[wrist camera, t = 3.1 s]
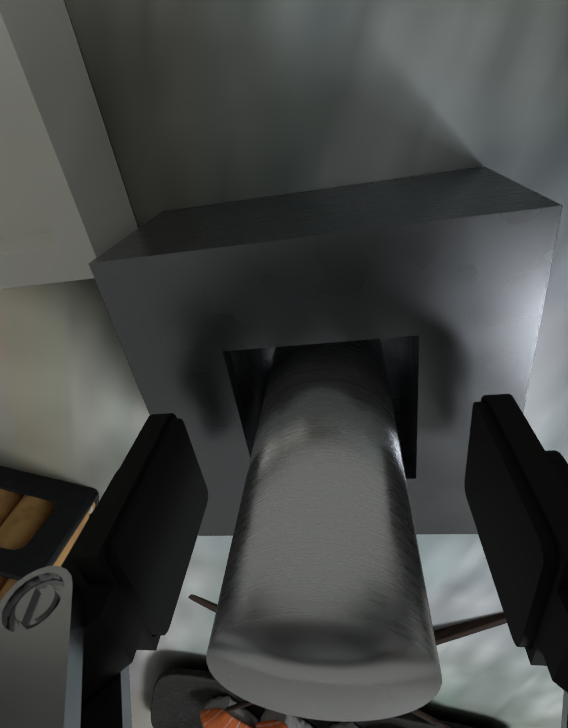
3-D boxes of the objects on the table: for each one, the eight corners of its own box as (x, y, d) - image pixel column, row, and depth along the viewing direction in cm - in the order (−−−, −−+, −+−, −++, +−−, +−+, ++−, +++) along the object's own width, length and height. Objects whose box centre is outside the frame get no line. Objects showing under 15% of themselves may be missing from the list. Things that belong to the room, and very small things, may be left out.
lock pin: (379, 294, 14) (448, 621, 5) (381, 384, 16) (435, 728, 7) (269, 304, 14) (179, 613, 6) (285, 389, 16) (232, 714, 8)
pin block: (484, 166, 12) (562, 205, 8) (460, 428, 18) (500, 533, 13) (162, 211, 14) (88, 263, 10) (228, 438, 19) (198, 535, 15)
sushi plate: (155, 708, 40) (139, 762, 36) (180, 510, 23) (156, 577, 20) (451, 769, 41) (462, 827, 38) (676, 621, 24) (729, 702, 21)
